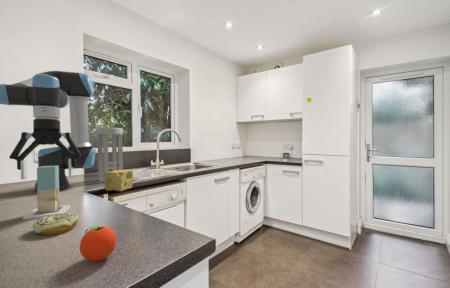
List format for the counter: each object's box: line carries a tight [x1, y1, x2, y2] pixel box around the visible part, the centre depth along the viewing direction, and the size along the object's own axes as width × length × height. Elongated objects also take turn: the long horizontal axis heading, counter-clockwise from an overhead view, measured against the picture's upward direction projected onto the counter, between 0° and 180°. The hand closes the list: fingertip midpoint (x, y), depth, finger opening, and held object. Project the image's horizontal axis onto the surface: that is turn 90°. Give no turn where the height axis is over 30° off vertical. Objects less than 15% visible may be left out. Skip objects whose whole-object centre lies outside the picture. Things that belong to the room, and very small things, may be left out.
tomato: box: [79, 225, 117, 262], centre depth 47 cm, size 8×7×7 cm
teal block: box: [36, 166, 59, 190], centre depth 79 cm, size 5×5×8 cm
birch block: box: [36, 187, 60, 213], centre depth 79 cm, size 5×5×8 cm
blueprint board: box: [22, 204, 71, 221], centre depth 79 cm, size 11×11×1 cm
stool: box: [95, 127, 124, 183], centre depth 145 cm, size 16×16×35 cm
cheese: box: [104, 169, 134, 192], centre depth 118 cm, size 10×11×10 cm
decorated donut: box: [32, 212, 79, 237], centre depth 64 cm, size 10×11×4 cm
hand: (48, 177), depth 79 cm, fingers open, 13 cm apart
